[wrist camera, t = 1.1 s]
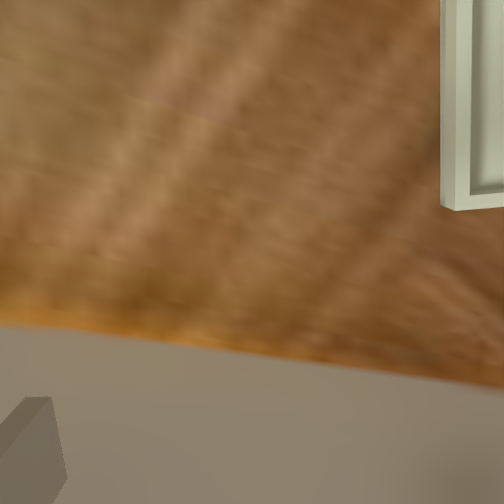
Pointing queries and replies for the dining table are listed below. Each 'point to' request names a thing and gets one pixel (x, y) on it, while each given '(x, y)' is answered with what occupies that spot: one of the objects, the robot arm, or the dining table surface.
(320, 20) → the dining table surface
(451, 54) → the tray
